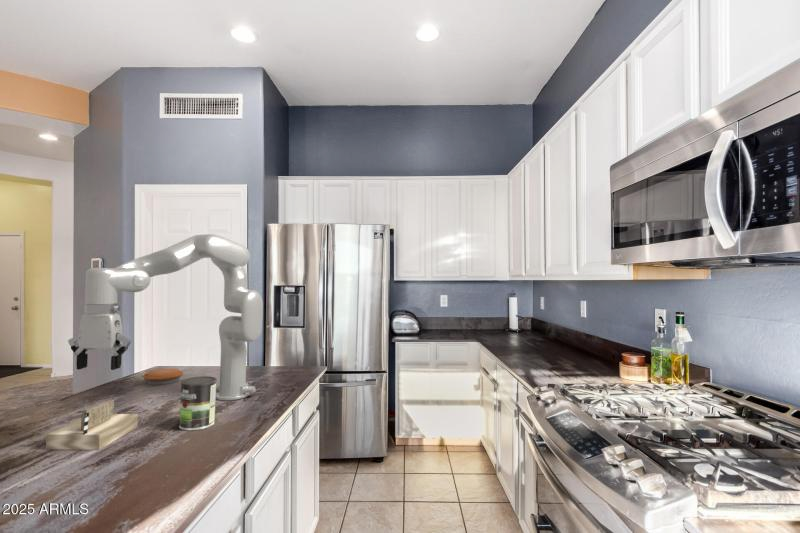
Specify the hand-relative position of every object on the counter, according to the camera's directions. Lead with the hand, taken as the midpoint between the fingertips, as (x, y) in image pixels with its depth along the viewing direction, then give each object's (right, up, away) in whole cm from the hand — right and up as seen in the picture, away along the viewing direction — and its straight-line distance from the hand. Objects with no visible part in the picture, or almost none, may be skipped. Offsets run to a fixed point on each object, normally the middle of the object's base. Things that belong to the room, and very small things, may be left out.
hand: (98, 368), depth 113 cm
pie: (-17, -22, +59) cm, 65 cm away
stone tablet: (+1, -16, -2) cm, 16 cm away
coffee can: (+23, -21, +11) cm, 33 cm away
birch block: (-1, -20, -1) cm, 20 cm away
